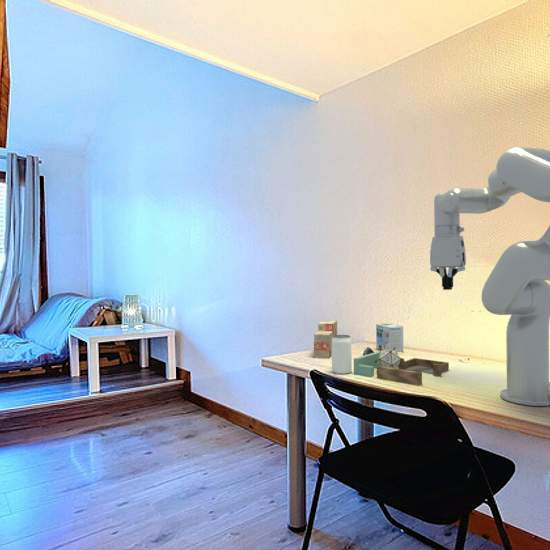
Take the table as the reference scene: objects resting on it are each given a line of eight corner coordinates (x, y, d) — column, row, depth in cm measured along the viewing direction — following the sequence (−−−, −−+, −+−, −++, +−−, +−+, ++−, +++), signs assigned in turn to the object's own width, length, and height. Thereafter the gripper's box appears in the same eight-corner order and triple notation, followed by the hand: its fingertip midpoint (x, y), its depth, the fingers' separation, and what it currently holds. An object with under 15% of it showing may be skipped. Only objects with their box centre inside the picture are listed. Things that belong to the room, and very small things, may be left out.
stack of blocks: (329, 358, 170) (329, 326, 170) (313, 358, 172) (313, 326, 172) (337, 348, 191) (337, 320, 191) (323, 348, 193) (322, 319, 192)
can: (336, 375, 144) (336, 338, 144) (329, 370, 150) (328, 335, 150) (355, 373, 146) (354, 336, 145) (346, 369, 152) (346, 334, 152)
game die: (391, 382, 148) (403, 356, 151) (398, 379, 140) (411, 351, 143) (367, 368, 149) (379, 343, 152) (372, 364, 141) (386, 337, 144)
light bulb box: (375, 349, 187) (375, 323, 187) (389, 348, 189) (389, 322, 189) (389, 353, 177) (389, 326, 177) (404, 352, 179) (404, 325, 179)
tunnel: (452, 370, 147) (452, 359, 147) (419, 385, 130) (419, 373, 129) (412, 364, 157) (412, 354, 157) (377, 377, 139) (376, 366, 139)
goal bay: (395, 368, 152) (395, 353, 152) (371, 376, 140) (371, 361, 140) (378, 365, 156) (378, 351, 156) (353, 373, 145) (353, 358, 145)
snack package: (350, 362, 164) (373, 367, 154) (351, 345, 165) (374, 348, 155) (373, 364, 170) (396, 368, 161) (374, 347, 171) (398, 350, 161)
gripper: (475, 230, 139) (476, 289, 140) (429, 234, 150) (429, 288, 150) (466, 229, 134) (467, 290, 134) (419, 233, 144) (420, 289, 144)
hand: (447, 289), depth 142 cm, fingers closed
